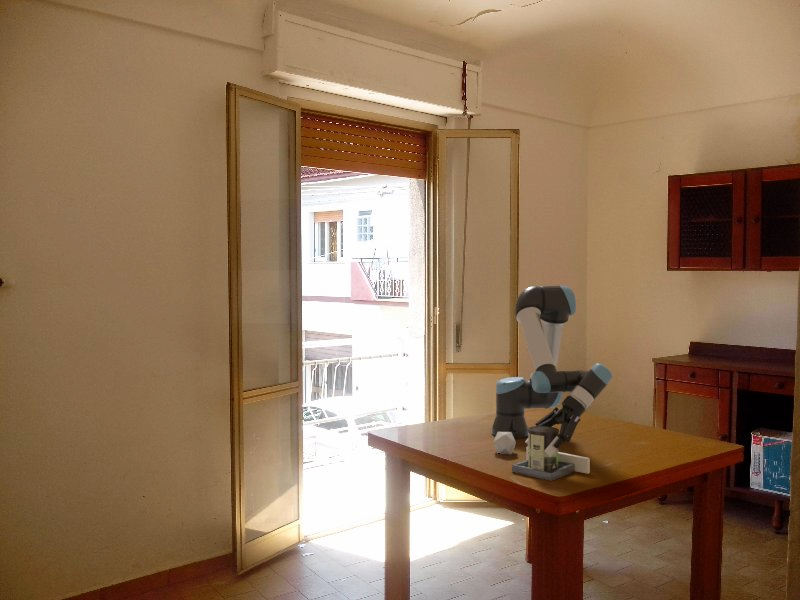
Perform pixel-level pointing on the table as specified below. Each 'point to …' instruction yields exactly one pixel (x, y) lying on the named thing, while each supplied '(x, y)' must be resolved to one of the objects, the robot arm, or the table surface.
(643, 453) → the table surface
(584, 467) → the board
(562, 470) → the grey square tray
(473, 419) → the table surface
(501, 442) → the die
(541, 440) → the coffee can
